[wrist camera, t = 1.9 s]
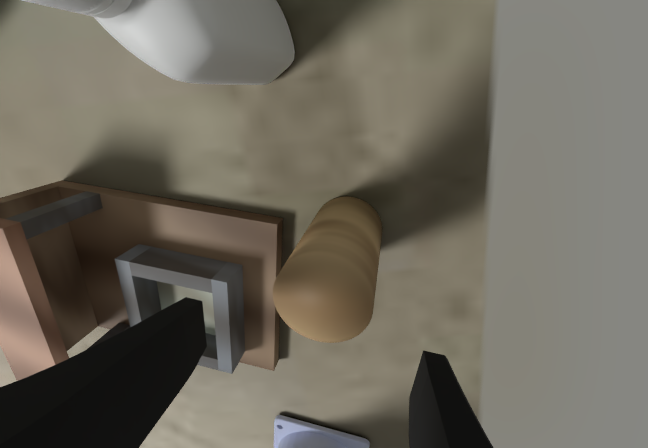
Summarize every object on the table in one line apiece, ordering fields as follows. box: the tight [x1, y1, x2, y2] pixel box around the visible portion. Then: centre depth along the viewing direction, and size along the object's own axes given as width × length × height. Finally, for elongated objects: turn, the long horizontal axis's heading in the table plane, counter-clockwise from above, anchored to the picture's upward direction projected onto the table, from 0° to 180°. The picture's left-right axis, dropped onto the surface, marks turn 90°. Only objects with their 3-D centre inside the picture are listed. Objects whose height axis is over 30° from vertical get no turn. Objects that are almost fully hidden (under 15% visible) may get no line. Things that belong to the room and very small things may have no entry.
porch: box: [0, 180, 283, 381], centre depth 20 cm, size 12×16×6 cm
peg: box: [273, 196, 382, 343], centre depth 15 cm, size 4×4×7 cm
